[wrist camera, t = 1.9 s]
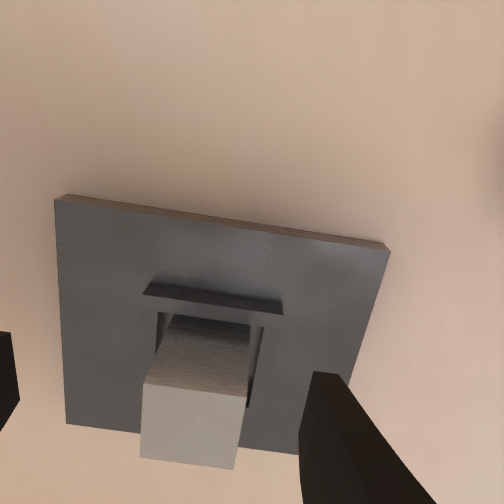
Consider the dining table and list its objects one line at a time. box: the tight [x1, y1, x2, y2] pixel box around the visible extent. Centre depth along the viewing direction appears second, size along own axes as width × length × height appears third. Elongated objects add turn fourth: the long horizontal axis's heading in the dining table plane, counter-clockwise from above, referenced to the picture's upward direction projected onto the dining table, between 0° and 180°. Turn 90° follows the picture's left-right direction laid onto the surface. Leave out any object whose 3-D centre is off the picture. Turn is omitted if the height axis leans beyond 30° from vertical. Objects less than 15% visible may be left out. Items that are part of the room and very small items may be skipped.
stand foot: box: [54, 194, 391, 455], centre depth 19 cm, size 16×14×2 cm
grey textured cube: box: [140, 314, 251, 470], centre depth 17 cm, size 4×4×5 cm
